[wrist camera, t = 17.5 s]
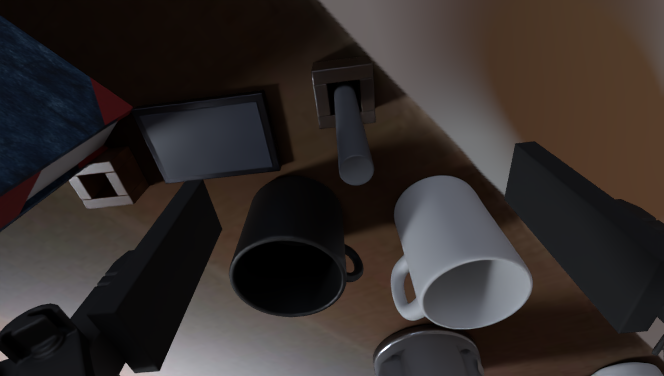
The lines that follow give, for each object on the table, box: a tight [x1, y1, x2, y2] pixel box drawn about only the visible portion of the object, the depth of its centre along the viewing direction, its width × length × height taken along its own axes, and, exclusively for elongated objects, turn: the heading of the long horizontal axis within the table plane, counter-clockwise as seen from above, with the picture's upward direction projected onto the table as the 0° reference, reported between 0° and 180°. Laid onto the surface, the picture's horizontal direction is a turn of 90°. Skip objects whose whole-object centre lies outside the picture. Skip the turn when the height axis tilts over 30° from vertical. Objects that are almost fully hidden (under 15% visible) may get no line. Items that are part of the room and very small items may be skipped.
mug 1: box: [229, 176, 363, 317], centre depth 30 cm, size 9×12×9 cm
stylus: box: [334, 81, 374, 185], centre depth 20 cm, size 2×2×14 cm
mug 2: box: [391, 176, 533, 329], centre depth 29 cm, size 12×8×11 cm
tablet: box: [131, 90, 282, 184], centre depth 28 cm, size 7×11×1 cm, turn 97°
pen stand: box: [69, 146, 149, 209], centre depth 29 cm, size 4×4×3 cm
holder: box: [311, 56, 376, 129], centre depth 25 cm, size 4×4×3 cm
